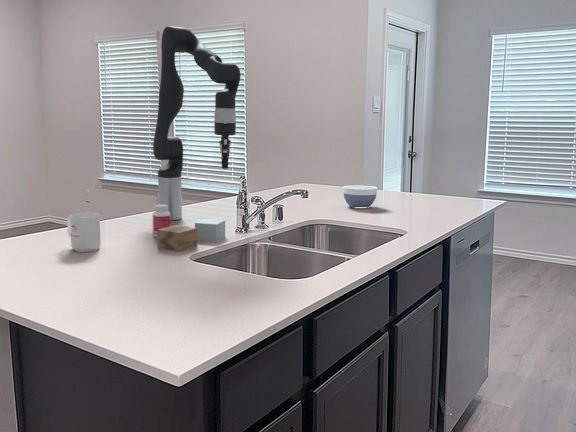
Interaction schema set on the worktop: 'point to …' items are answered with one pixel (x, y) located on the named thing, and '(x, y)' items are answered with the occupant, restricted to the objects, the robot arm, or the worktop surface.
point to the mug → (84, 231)
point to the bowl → (359, 195)
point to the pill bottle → (161, 218)
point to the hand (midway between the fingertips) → (224, 167)
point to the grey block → (210, 230)
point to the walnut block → (177, 238)
